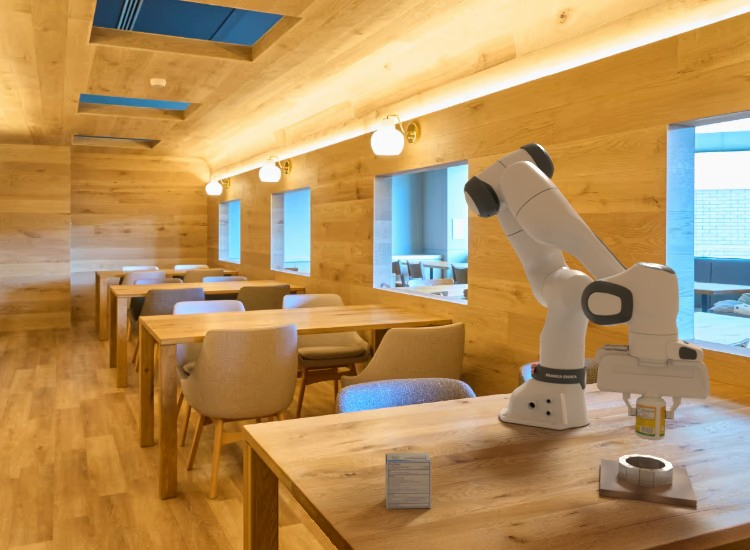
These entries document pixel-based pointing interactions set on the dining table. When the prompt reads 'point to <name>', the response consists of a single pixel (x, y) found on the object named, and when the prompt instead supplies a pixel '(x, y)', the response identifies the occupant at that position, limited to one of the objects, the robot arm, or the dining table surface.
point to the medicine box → (408, 480)
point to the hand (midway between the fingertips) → (650, 417)
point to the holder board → (646, 480)
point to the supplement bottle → (650, 416)
